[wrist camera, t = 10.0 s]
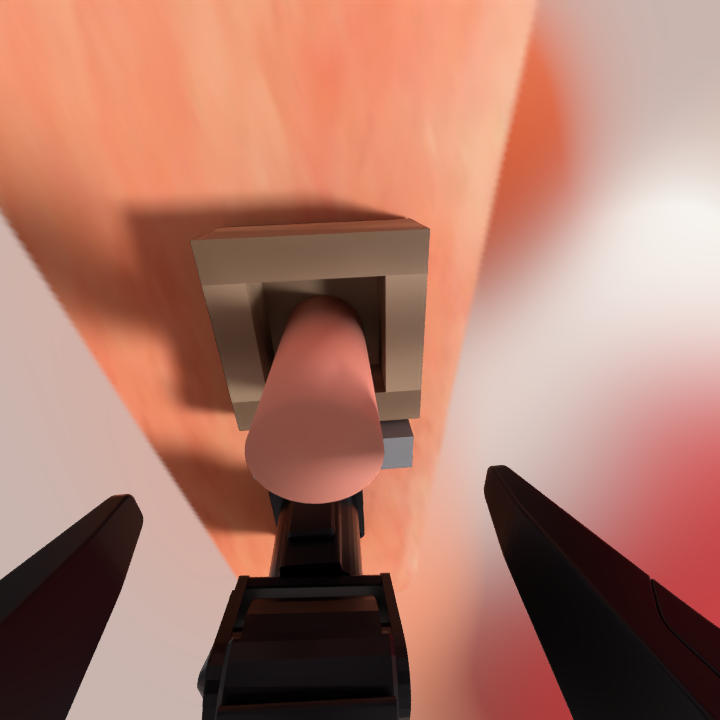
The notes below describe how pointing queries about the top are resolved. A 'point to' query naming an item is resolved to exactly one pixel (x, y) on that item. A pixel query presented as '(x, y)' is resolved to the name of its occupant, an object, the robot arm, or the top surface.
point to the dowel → (317, 409)
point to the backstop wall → (396, 443)
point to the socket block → (314, 278)
